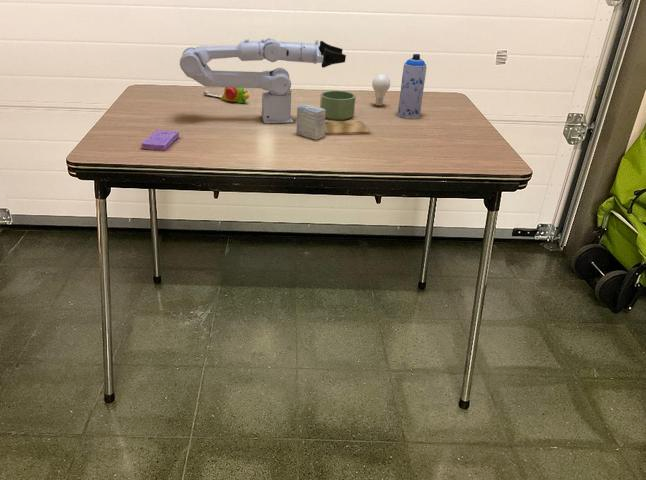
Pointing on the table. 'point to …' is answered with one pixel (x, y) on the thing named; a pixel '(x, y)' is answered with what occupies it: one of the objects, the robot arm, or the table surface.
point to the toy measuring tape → (232, 95)
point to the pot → (338, 104)
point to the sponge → (160, 140)
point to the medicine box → (311, 121)
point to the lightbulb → (380, 87)
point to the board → (345, 128)
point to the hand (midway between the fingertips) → (343, 55)
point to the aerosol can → (412, 88)
